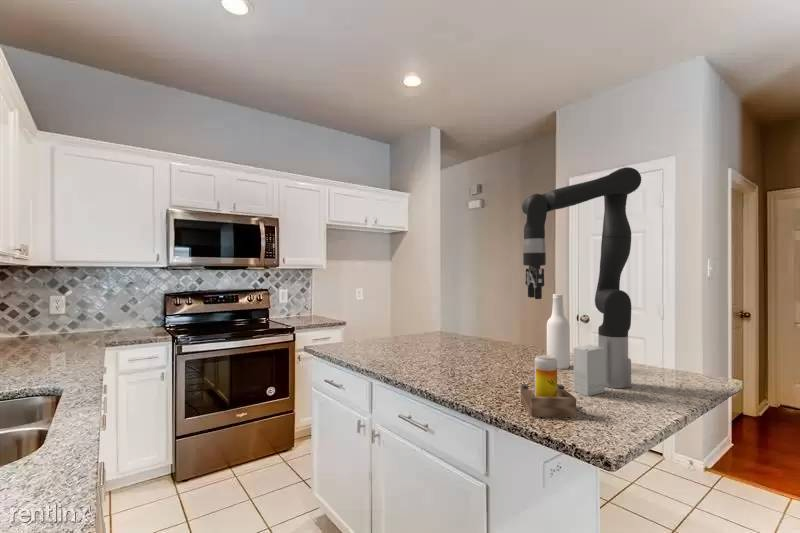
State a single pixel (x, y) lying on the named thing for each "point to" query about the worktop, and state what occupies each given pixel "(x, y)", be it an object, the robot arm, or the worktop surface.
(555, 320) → the alcohol
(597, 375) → the skincare box
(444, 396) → the worktop surface
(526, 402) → the holder
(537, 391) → the beer can
